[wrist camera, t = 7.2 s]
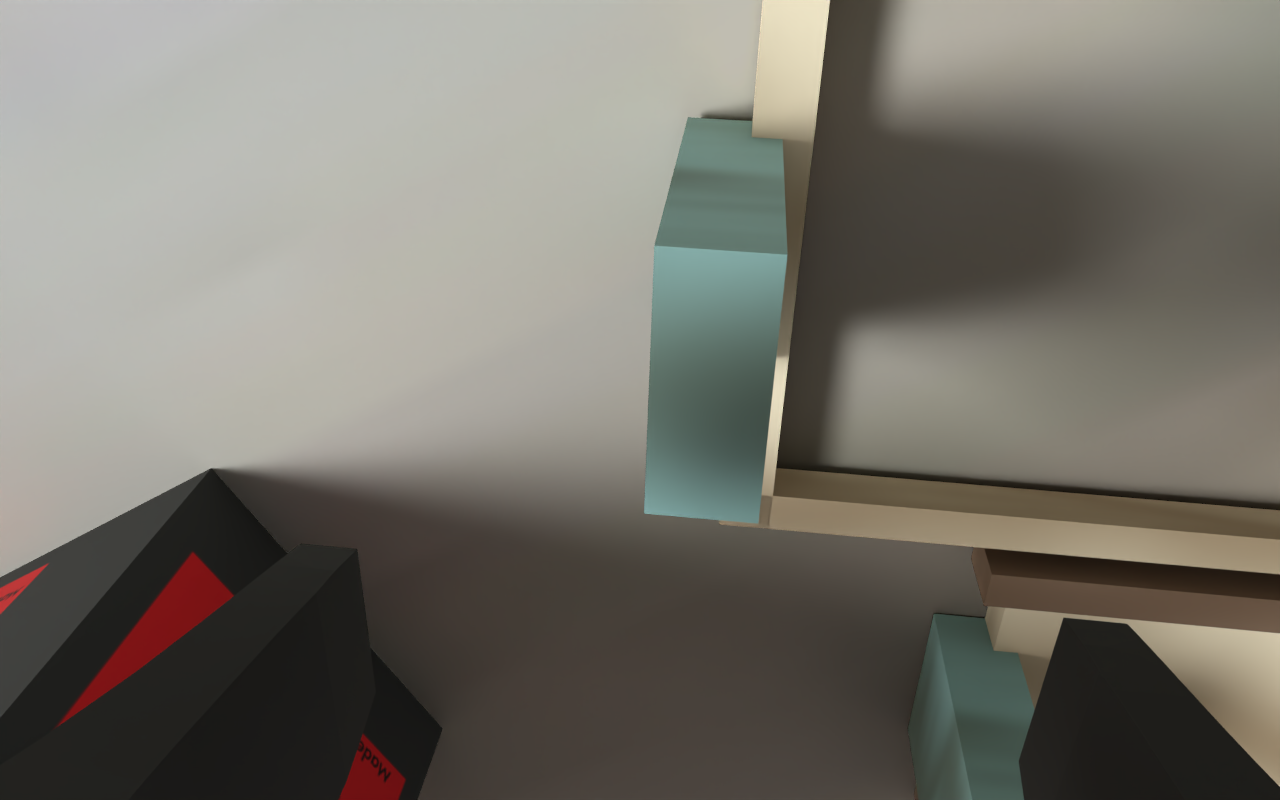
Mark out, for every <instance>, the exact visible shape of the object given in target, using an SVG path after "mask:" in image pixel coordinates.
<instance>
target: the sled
mask: <svg viewBox="0 0 1280 800" xmlns="http://www.w3.org/2000/svg"><path fill="white" fill-rule="evenodd" d="M829 4H830V0H763V2H762V14H761V26H760V38H759V49H758V61H757V73H756V85H755V97H754V109H753V121H741V120H724V119H707V118H690V117H688V120H687V123H686V127H685V131H684V135H683V139H682V143H681V146H680V150H679V154H678V158H677V162H676V165H675V169H674V173H673V177H672V181H671V185H670V188H669V192H668V196H667V200H666V204H665V207H664V211H663V215H662V219H661V223H660V227H659V230H658V234H657V238H656V242H655V246H654V271H653V297H652V322H651V348H650V374H649V400H648V425H647V451H646V477H645V503H644V514H655V515H667V516H678V517H689V518H700V519H712V520H719V524H721V525H732V526H743V527H755V528H766V529H777V530H788V531H799V532H811V533H822V534H833V535H844V536H856V537H867V538H878V539H889V540H900V541H912V542H923V543H934V544H945V545H957V546H968V547H979V548H990V549H1001V550H1013V551H1024V552H1035V553H1046V554H1058V555H1069V556H1080V557H1091V558H1102V559H1114V560H1125V561H1136V562H1147V563H1159V564H1170V565H1181V566H1192V567H1203V568H1215V569H1226V570H1237V571H1248V572H1260V573H1271V574H1280V510H1268V509H1256V508H1244V507H1232V506H1220V505H1209V504H1197V503H1185V502H1173V501H1161V500H1149V499H1138V498H1126V497H1114V496H1102V495H1090V494H1078V493H1066V492H1055V491H1043V490H1031V489H1019V488H1007V487H995V486H984V485H972V484H960V483H948V482H936V481H924V480H912V479H901V478H889V477H877V476H865V475H853V474H841V473H829V472H818V471H806V470H794V469H782V468H776V464H777V455H778V447H779V438H780V429H781V421H782V412H783V403H784V395H785V386H786V377H787V369H788V360H789V351H790V343H791V334H792V325H793V317H794V308H795V299H796V291H797V282H798V273H799V265H800V256H801V247H802V239H803V230H804V221H805V213H806V204H807V195H808V187H809V178H810V169H811V161H812V152H813V143H814V135H815V126H816V117H817V109H818V100H819V91H820V83H821V74H822V65H823V57H824V48H825V39H826V30H827V22H828V13H829Z"/></svg>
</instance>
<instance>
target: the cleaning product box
mask: <svg viewBox="0 0 1280 800" xmlns="http://www.w3.org/2000/svg"><path fill="white" fill-rule="evenodd" d="M285 555H287V553H286V552H285V551H284V550H283V549H282V547H281V546H280V545H279V544H278V543H277V542H276V541H275V540H274V538H273V537H272V536H271V535H270V534H269V533H268V532H267V531H266V529H265V528H264V527H263V526H262V525H261V524H260V523H259V522H258V520H257V519H256V518H255V517H254V516H253V515H252V514H251V513H250V511H249V510H248V509H247V508H246V507H245V506H244V505H243V504H242V502H241V501H240V500H239V499H238V498H237V497H236V496H235V494H234V493H233V492H232V491H231V490H230V489H229V488H228V487H227V485H226V484H225V483H224V482H223V481H222V480H221V479H220V478H219V476H218V475H217V474H216V473H215V472H214V471H213V470H212V469H209V470H207V471H205V472H203V473H201V474H199V475H197V476H196V477H194V478H192V479H190V480H188V481H186V482H184V483H182V484H180V485H178V486H176V487H174V488H172V489H170V490H168V491H167V492H165V493H163V494H161V495H159V496H157V497H155V498H153V499H151V500H149V501H147V502H145V503H143V504H141V505H139V506H138V507H136V508H134V509H132V510H130V511H128V512H126V513H124V514H122V515H120V516H118V517H116V518H114V519H112V520H110V521H109V522H107V523H105V524H103V525H101V526H99V527H97V528H95V529H93V530H91V531H89V532H87V533H85V534H83V535H82V536H80V537H78V538H76V539H74V540H72V541H70V542H68V543H66V544H64V545H62V546H60V547H58V548H56V549H54V550H53V551H51V552H49V553H47V554H45V555H43V556H41V557H39V558H37V559H35V560H33V561H31V562H29V563H27V564H25V565H24V566H22V567H20V568H18V569H16V570H14V571H12V572H10V573H8V574H6V575H4V576H2V577H0V765H1V764H3V763H4V762H6V761H7V760H9V759H10V758H12V757H14V756H15V755H17V754H18V753H20V752H21V751H23V750H24V749H26V748H27V747H29V746H30V745H32V744H33V743H35V742H36V741H38V740H39V739H41V738H42V737H44V736H45V735H47V734H48V733H49V732H51V731H52V730H54V729H55V728H56V727H58V726H59V725H61V724H62V723H64V722H65V721H66V720H68V719H69V718H71V717H72V716H74V715H75V714H76V713H78V712H79V711H81V710H82V709H84V708H85V707H86V706H88V705H89V704H91V703H92V702H93V701H95V700H96V699H98V698H99V697H101V696H102V695H103V694H105V693H106V692H108V691H109V690H111V689H112V688H113V687H115V686H116V685H118V684H119V683H121V682H122V681H123V680H125V679H126V678H128V677H129V676H130V675H132V674H133V673H135V672H136V671H137V670H139V669H140V668H141V667H143V666H144V665H145V664H147V663H148V662H149V661H151V660H152V659H153V658H155V657H156V656H157V655H158V654H160V653H161V652H162V651H164V650H165V649H166V648H168V647H169V646H170V645H171V644H173V643H174V642H175V641H177V640H178V639H179V638H181V637H182V636H183V635H185V634H186V633H187V632H188V631H190V630H191V629H192V628H194V627H195V626H196V625H198V624H199V623H200V622H202V621H203V620H204V619H205V618H207V617H208V616H209V615H210V614H212V613H213V612H214V611H216V610H217V609H218V608H219V607H221V606H222V605H223V604H224V603H226V602H227V601H228V600H230V599H231V598H232V597H233V596H235V595H236V594H237V593H238V592H240V591H241V590H242V589H243V588H245V587H246V586H247V585H248V584H250V583H251V582H252V581H253V580H255V579H256V578H257V577H259V576H260V575H261V574H262V573H264V572H265V571H266V570H267V569H269V568H270V567H271V566H272V565H274V564H275V563H276V562H278V561H279V560H280V559H281V558H283V557H284V556H285ZM370 651H371V658H372V666H373V673H374V681H375V689H376V693H375V696H374V699H373V703H372V706H371V709H370V712H369V715H368V719H367V722H366V725H365V728H364V731H363V734H362V738H361V741H360V744H359V747H358V750H357V752H356V755H355V758H354V761H353V764H352V767H351V770H350V773H349V776H348V779H347V782H346V784H345V786H344V788H343V790H342V793H341V795H340V797H339V799H338V800H417V799H418V796H419V794H420V791H421V788H422V785H423V782H424V779H425V777H426V774H427V771H428V768H429V765H430V763H431V760H432V757H433V754H434V751H435V748H436V746H437V743H438V740H439V737H440V734H441V732H442V728H441V727H440V726H439V724H438V723H437V722H436V721H435V720H434V719H433V718H432V717H431V715H430V714H429V713H428V712H427V711H426V710H425V709H424V708H423V706H422V705H421V704H420V703H419V702H418V701H417V700H416V699H415V697H414V696H413V695H412V694H411V693H410V692H409V691H408V690H407V688H406V687H405V686H404V685H403V684H402V683H401V682H400V680H399V679H398V678H397V677H396V676H395V675H394V674H393V673H392V671H391V670H390V669H389V668H388V667H387V666H386V665H385V664H384V662H383V661H382V660H381V659H380V658H379V657H378V656H377V655H376V653H375V652H374V651H373V650H372V649H371V648H370Z"/></svg>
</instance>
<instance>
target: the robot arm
mask: <svg viewBox="0 0 1280 800" xmlns="http://www.w3.org/2000/svg"><path fill="white" fill-rule="evenodd" d="M375 693H376V689H375V681H374V673H373V666H372V658H371V651H370V643H369V636H368V628H367V620H366V613H365V605H364V598H363V590H362V583H361V575H360V568H359V560H358V552H357V549H350V548H340V547H329V546H319V545H309V544H300V545H299V546H297V547H296V548H295V549H293V550H292V551H291V552H289V553H288V554H287V555H285V556H284V557H283V558H281V559H280V560H279V561H278V562H276V563H275V564H274V565H272V566H271V567H270V568H269V569H267V570H266V571H265V572H264V573H262V574H261V575H260V576H259V577H257V578H256V579H255V580H253V581H252V582H251V583H250V584H248V585H247V586H246V587H245V588H243V589H242V590H241V591H240V592H238V593H237V594H236V595H235V596H233V597H232V598H231V599H230V600H228V601H227V602H226V603H224V604H223V605H222V606H221V607H219V608H218V609H217V610H216V611H214V612H213V613H212V614H210V615H209V616H208V617H207V618H205V619H204V620H203V621H202V622H200V623H199V624H198V625H196V626H195V627H194V628H192V629H191V630H190V631H188V632H187V633H186V634H185V635H183V636H182V637H181V638H179V639H178V640H177V641H175V642H174V643H173V644H171V645H170V646H169V647H168V648H166V649H165V650H164V651H162V652H161V653H160V654H158V655H157V656H156V657H155V658H153V659H152V660H151V661H149V662H148V663H147V664H145V665H144V666H143V667H141V668H140V669H139V670H137V671H136V672H135V673H133V674H132V675H130V676H129V677H128V678H126V679H125V680H123V681H122V682H121V683H119V684H118V685H116V686H115V687H113V688H112V689H111V690H109V691H108V692H106V693H105V694H103V695H102V696H101V697H99V698H98V699H96V700H95V701H93V702H92V703H91V704H89V705H88V706H86V707H85V708H84V709H82V710H81V711H79V712H78V713H76V714H75V715H74V716H72V717H71V718H69V719H68V720H66V721H65V722H64V723H62V724H61V725H59V726H58V727H56V728H55V729H54V730H52V731H51V732H49V733H48V734H47V735H45V736H44V737H42V738H41V739H39V740H38V741H36V742H35V743H33V744H32V745H30V746H29V747H27V748H26V749H24V750H23V751H21V752H20V753H18V754H17V755H15V756H14V757H12V758H10V759H9V760H7V761H6V762H4V763H3V764H1V765H0V800H338V799H339V797H340V795H341V793H342V790H343V788H344V786H345V784H346V782H347V779H348V776H349V773H350V770H351V767H352V764H353V761H354V758H355V755H356V752H357V750H358V747H359V744H360V741H361V738H362V734H363V731H364V728H365V725H366V722H367V719H368V715H369V712H370V709H371V706H372V703H373V699H374V696H375ZM1019 768H1020V775H1021V782H1022V789H1023V796H1024V800H1280V786H1279V785H1278V784H1277V783H1276V782H1275V781H1274V780H1273V779H1272V778H1271V777H1270V776H1269V775H1268V774H1267V773H1266V772H1265V771H1264V770H1263V769H1262V768H1261V767H1260V766H1259V765H1258V764H1257V763H1256V762H1255V761H1254V759H1253V758H1252V757H1251V756H1250V755H1249V754H1248V753H1247V752H1246V751H1245V750H1244V749H1243V748H1242V747H1241V746H1240V745H1239V744H1238V742H1237V741H1236V740H1235V739H1234V738H1233V737H1232V736H1231V735H1230V734H1229V733H1228V732H1227V731H1226V730H1225V729H1224V727H1223V726H1222V725H1221V724H1220V723H1219V722H1218V721H1217V720H1216V719H1215V718H1214V717H1213V716H1212V715H1211V713H1210V712H1209V711H1208V710H1207V709H1206V708H1205V707H1204V706H1203V705H1202V704H1201V703H1200V702H1199V700H1198V699H1197V698H1196V697H1195V696H1194V695H1193V694H1192V693H1191V692H1190V691H1189V690H1188V688H1187V687H1186V686H1185V685H1184V684H1183V683H1182V682H1181V681H1180V680H1179V679H1178V678H1177V676H1176V675H1175V674H1174V673H1173V672H1172V671H1171V670H1170V669H1169V668H1168V667H1167V666H1166V664H1165V663H1164V662H1163V661H1162V660H1161V659H1160V658H1159V657H1158V656H1157V655H1156V654H1155V652H1154V651H1153V650H1152V649H1151V648H1150V647H1149V646H1148V645H1147V644H1146V643H1145V642H1144V641H1143V640H1142V639H1141V638H1140V636H1139V635H1138V634H1137V633H1136V632H1135V631H1134V630H1133V629H1132V628H1131V627H1130V626H1129V625H1128V624H1126V623H1115V622H1105V621H1095V620H1084V619H1074V618H1064V617H1063V620H1062V624H1061V627H1060V630H1059V633H1058V636H1057V640H1056V643H1055V646H1054V649H1053V652H1052V656H1051V659H1050V662H1049V665H1048V668H1047V672H1046V675H1045V678H1044V681H1043V685H1042V688H1041V691H1040V694H1039V697H1038V701H1037V704H1036V707H1035V710H1034V713H1033V717H1032V720H1031V723H1030V726H1029V729H1028V733H1027V736H1026V739H1025V742H1024V745H1023V749H1022V752H1021V755H1020V758H1019Z"/></svg>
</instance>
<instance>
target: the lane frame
mask: <svg viewBox="0 0 1280 800" xmlns="http://www.w3.org/2000/svg"><path fill="white" fill-rule="evenodd" d="M971 560H972V564H973V568H974V571H975V575H976V579H977V582H978V586H979V590H980V593H981V597H982V601H983V605H984V606H988V609H987V613H986V616H985V618H975V617H965V616H954V615H944V614H934V616H933V620H932V625H931V629H930V633H929V638H928V642H927V647H926V651H925V655H924V660H923V664H922V669H921V673H920V677H919V682H918V686H917V690H916V695H915V699H914V704H913V708H912V712H911V717H910V721H909V726H908V733H909V740H910V747H911V753H912V760H913V766H914V773H915V780H916V787H915V791H914V797H915V800H1024V796H1023V789H1022V782H1021V775H1020V768H1019V758H1020V755H1021V752H1022V749H1023V745H1024V742H1025V739H1026V736H1027V733H1028V729H1029V726H1030V723H1031V720H1032V717H1033V713H1034V710H1035V707H1036V704H1037V701H1038V697H1039V694H1040V691H1041V688H1042V685H1043V681H1044V678H1045V675H1046V672H1047V668H1048V665H1049V662H1050V659H1051V656H1052V652H1053V649H1054V646H1055V643H1056V640H1057V636H1058V633H1059V630H1060V627H1061V624H1062V620H1063V617H1064V618H1074V619H1084V620H1095V621H1105V622H1115V623H1126V624H1128V625H1129V626H1130V627H1131V628H1132V629H1133V630H1134V631H1135V632H1136V633H1137V634H1138V635H1139V636H1140V638H1141V639H1142V640H1143V641H1144V642H1145V643H1146V644H1147V645H1148V646H1149V647H1150V648H1151V649H1152V650H1153V651H1154V652H1155V654H1156V655H1157V656H1158V657H1159V658H1160V659H1161V660H1162V661H1163V662H1164V663H1165V664H1166V666H1167V667H1168V668H1169V669H1170V670H1171V671H1172V672H1173V673H1174V674H1175V675H1176V676H1177V678H1178V679H1179V680H1180V681H1181V682H1182V683H1183V684H1184V685H1185V686H1186V687H1187V688H1188V690H1189V691H1190V692H1191V693H1192V694H1193V695H1194V696H1195V697H1196V698H1197V699H1198V700H1199V702H1200V703H1201V704H1202V705H1203V706H1204V707H1205V708H1206V709H1207V710H1208V711H1209V712H1210V713H1211V715H1212V716H1213V717H1214V718H1215V719H1216V720H1217V721H1218V722H1219V723H1220V724H1221V725H1222V726H1223V727H1224V729H1225V730H1226V731H1227V732H1228V733H1229V734H1230V735H1231V736H1232V737H1233V738H1234V739H1235V740H1236V741H1237V742H1238V744H1239V745H1240V746H1241V747H1242V748H1243V749H1244V750H1245V751H1246V752H1247V753H1248V754H1249V755H1250V756H1251V757H1252V758H1253V759H1254V761H1255V762H1256V763H1257V764H1258V765H1259V766H1260V767H1261V768H1262V769H1263V770H1264V771H1265V772H1266V773H1267V774H1268V775H1269V776H1270V777H1271V778H1272V779H1273V780H1274V781H1275V782H1276V783H1277V784H1278V785H1279V786H1280V574H1271V573H1260V572H1248V571H1237V570H1226V569H1215V568H1203V567H1192V566H1181V565H1170V564H1159V563H1147V562H1136V561H1125V560H1114V559H1102V558H1091V557H1080V556H1069V555H1058V554H1046V553H1035V552H1024V551H1013V550H1001V549H990V548H979V547H974V548H973V552H972V557H971Z"/></svg>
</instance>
